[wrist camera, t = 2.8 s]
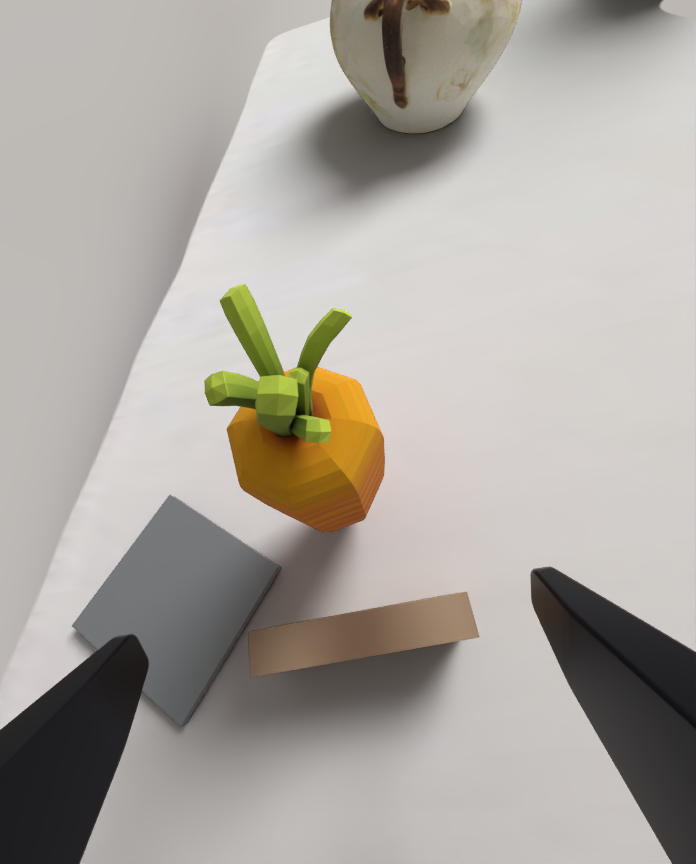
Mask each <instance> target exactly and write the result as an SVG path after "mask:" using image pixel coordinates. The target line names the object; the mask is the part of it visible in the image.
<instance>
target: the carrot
mask: <svg viewBox="0 0 696 864" xmlns="http://www.w3.org/2000/svg"><path fill="white" fill-rule="evenodd" d="M220 303H221V305H222V308H223V310H224V313H225V315H226V317H227V319H228V321H229V323H230V324H231V326H232V328H233V330H234V332H235V334H236V336H237V337H238V339H239V341H240V343H241V344H242V346H243V348H244V350H245V351H246V353H247V355H248V356H249V358H250V360H251V362H252V363H253V365H254V367H255V369H256V370H257V372H258V374H259V375H260V380H259V382H257V381H255V380H254V379H252V378H249V377H246V376H243V375H240V374H237V373H231V372H226V371H221V372H218V373H214V374H211V375H210V376H209V377H208V378H207V379H206V380H205V395H206V397H207V400H208V402H209V405H210V406H241V407H240V408H239V410H238V412H237V413H236V415H235V416H234V418H233V420H232V421H231V423H230V424H229V426H228V427H227V432H228V437H229V441H230V446H231V450H232V454H233V459H234V463H235V468H236V472H237V476H238V481H239V484H240V487H241V488H242V489H243V490H244V491H245V492H247V493H248V494H250V495H252V496H253V497H255V498H257V499H258V500H260V501H261V502H263V503H265V504H266V505H268V506H270V507H272V508H274V509H276V510H278V511H280V512H282V513H284V514H286V515H288V516H290V517H292V518H294V519H296V520H298V521H300V522H302V523H305V524H307V525H309V526H311V527H313V528H315V529H317V530H319V531H321V532H332V531H336V530H339V529H341V528H344V527H347V526H349V525H352V524H354V523H357V522H360V521H362V520H364V519H365V517H366V515H367V513H368V511H369V509H370V506H371V504H372V502H373V500H374V497H375V495H376V493H377V491H378V489H379V486H380V484H381V481H382V479H383V476H384V465H385V455H384V438H383V435H382V433H381V430H380V428H379V426H378V423H377V421H376V419H375V417H374V414H373V412H372V410H371V407H370V405H369V403H368V400H367V398H366V396H365V394H364V391H363V389H362V387H361V384H360V383H359V382H358V381H357V380H355V379H352V378H349V377H346V376H343V375H340V374H337V373H334V372H331V371H328V370H325V369H322V368H319V367H317V366H318V364H319V362H320V360H321V358H322V356H323V355H324V353H325V351H326V349H327V348H328V346H329V344H330V343H331V342H332V341H333V339H334V338H335V337H336V336H337V335H338V334H339V332H340V331H341V330H342V329H343V328H344V326H345V325H346V324H347V323H348V322H349V320H350V319H351V318H352V315H351V314H349V313H348V312H347V311H346V310H342V309H335V308H333V309H332V310H331V311H330V312H329V313H328V314H327V315H326V316H324V317H323V318H322V319H321V320H320V322H319V323H318V324H317V325H316V327H315V328H314V329H313V331H312V332H311V333H310V334H309V336H308V338H307V341H306V343H305V345H304V348H303V350H302V352H301V356H300V359H299V362H298V366H297V367H296V368H293V369H291V370H288V371H286V372H284V371H283V369H282V366H281V364H280V361H279V359H278V356H277V354H276V351H275V349H274V346H273V344H272V341H271V338H270V336H269V333H268V331H267V328H266V326H265V323H264V321H263V319H262V317H261V314H260V312H259V310H258V307H257V305H256V303H255V301H254V299H253V297H252V295H251V293H250V291H249V290H248V288H247V286H246V284H244V285H238V286H236V287H233V288H230V289H229V291H228V292H227V293H226V294H225V295H224V296H223V298H222V299H221V300H220Z"/></svg>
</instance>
